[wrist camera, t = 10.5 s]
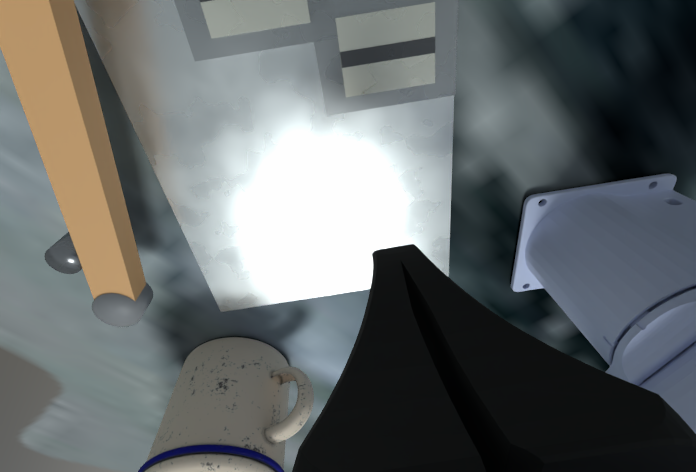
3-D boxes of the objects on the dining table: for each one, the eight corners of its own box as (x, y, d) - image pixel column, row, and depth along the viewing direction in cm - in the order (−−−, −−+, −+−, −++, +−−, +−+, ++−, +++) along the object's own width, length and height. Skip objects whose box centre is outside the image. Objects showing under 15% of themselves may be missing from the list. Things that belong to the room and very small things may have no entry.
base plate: (453, -197, 13) (512, -288, 9) (444, 267, 25) (467, 312, 21) (-102, -103, 13) (-277, -154, 9) (156, 312, 25) (127, 366, 21)
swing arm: (-23, -179, 11) (-152, -254, 8) (84, -160, 12) (0, -224, 8) (120, 285, 22) (87, 330, 19) (174, 287, 22) (150, 331, 19)
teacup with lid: (234, 413, 32) (198, 586, 22) (156, 363, 28) (69, 552, 18) (342, 362, 29) (355, 534, 20) (275, 298, 25) (249, 479, 15)
